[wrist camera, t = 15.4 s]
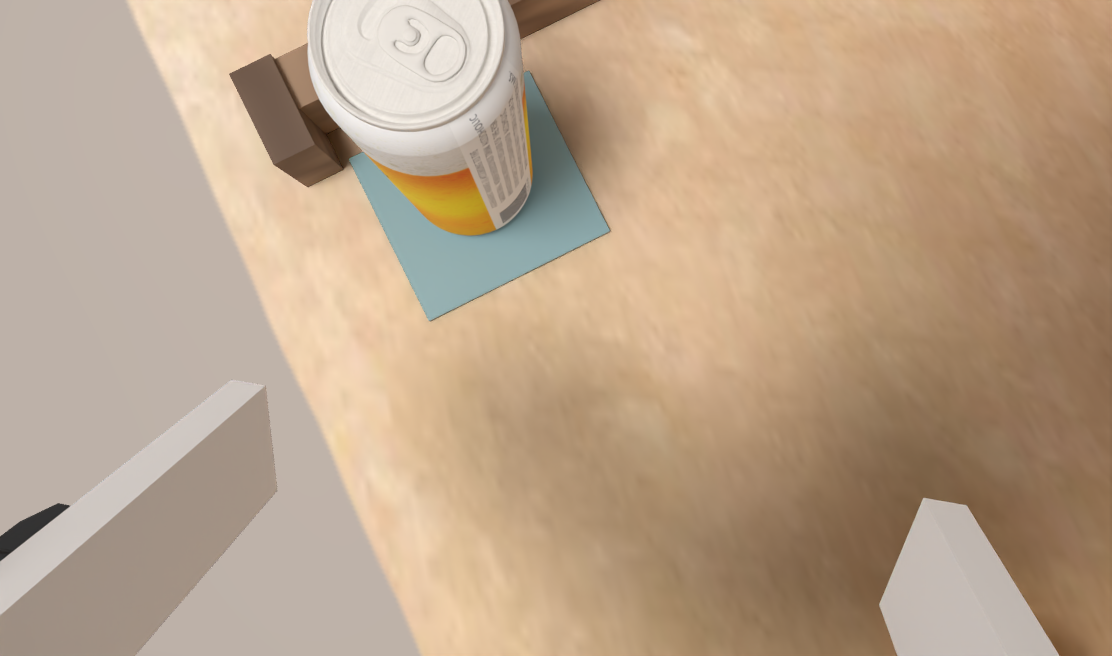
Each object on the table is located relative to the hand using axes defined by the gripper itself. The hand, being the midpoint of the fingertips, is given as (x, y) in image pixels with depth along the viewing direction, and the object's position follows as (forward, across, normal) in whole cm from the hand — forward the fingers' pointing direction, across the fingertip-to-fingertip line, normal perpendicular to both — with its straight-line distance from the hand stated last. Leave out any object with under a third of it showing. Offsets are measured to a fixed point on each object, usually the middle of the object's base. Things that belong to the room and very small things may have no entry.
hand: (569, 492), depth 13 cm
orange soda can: (+21, -8, +1) cm, 23 cm away
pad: (+21, -8, 0) cm, 22 cm away
